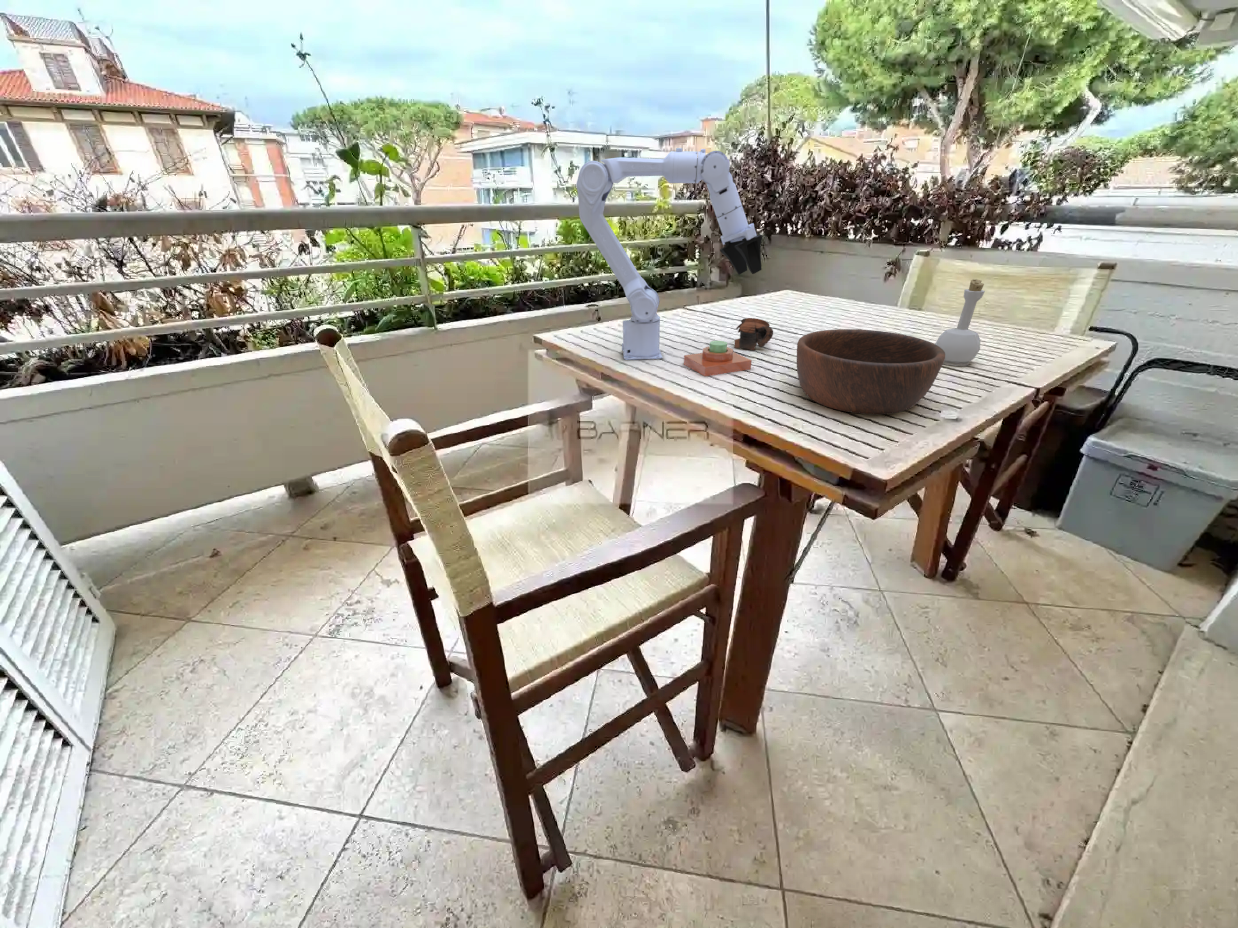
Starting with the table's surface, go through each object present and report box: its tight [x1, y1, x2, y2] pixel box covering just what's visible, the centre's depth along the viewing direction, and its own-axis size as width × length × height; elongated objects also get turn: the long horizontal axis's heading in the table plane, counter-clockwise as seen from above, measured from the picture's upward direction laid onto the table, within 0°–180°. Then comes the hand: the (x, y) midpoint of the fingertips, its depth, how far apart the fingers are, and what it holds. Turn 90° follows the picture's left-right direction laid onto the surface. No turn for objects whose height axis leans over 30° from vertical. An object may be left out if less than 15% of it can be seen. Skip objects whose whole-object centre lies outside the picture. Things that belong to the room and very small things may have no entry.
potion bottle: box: [934, 278, 985, 367], centre depth 108 cm, size 9×9×18 cm
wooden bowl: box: [796, 328, 945, 415], centre depth 92 cm, size 25×25×10 cm
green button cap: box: [708, 340, 728, 353], centre depth 111 cm, size 4×4×2 cm
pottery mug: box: [734, 317, 774, 351], centre depth 126 cm, size 12×10×8 cm
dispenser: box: [683, 346, 752, 377], centre depth 112 cm, size 12×10×4 cm
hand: (749, 272), depth 110 cm, fingers open, 7 cm apart
